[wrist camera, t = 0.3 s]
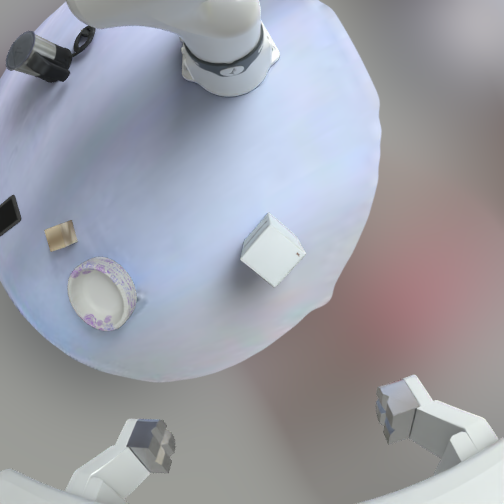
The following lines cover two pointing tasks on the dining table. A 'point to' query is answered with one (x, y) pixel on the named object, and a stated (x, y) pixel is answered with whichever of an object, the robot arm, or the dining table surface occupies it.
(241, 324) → the dining table surface
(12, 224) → the cell phone
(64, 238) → the maple block
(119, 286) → the paper bowls
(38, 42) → the milk frother
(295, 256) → the supplement box
